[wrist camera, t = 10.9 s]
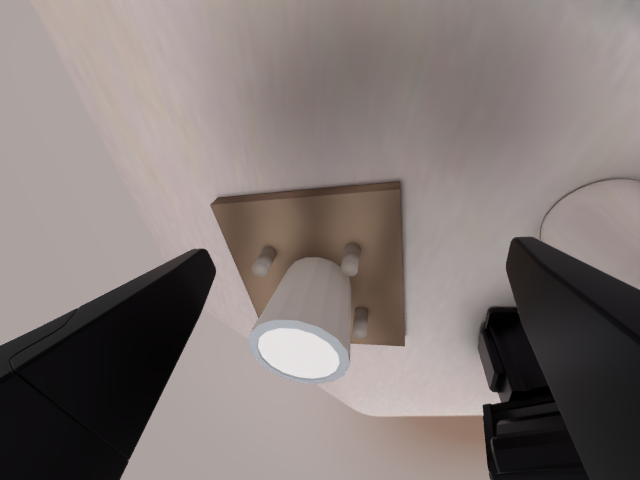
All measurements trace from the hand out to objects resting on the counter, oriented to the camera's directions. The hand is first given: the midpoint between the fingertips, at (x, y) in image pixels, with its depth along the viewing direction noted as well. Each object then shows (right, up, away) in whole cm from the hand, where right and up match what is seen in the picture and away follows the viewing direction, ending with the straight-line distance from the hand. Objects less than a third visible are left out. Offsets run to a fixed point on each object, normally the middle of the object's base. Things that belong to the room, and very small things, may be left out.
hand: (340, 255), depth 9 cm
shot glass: (-1, -3, +16) cm, 16 cm away
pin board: (-1, -3, +17) cm, 17 cm away
